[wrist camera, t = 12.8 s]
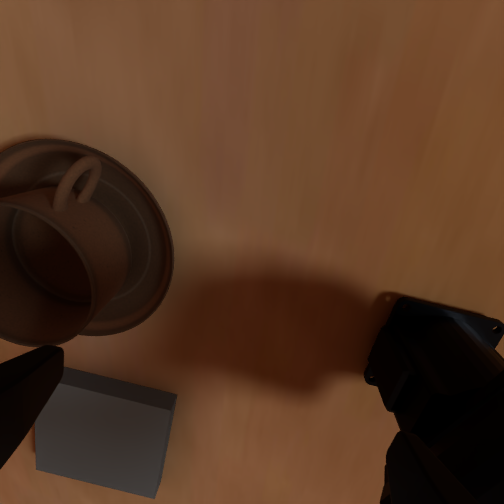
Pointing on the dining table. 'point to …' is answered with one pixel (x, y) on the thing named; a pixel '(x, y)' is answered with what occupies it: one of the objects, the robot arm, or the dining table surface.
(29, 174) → the cup and saucer
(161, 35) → the dining table surface
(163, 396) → the charcoal block
